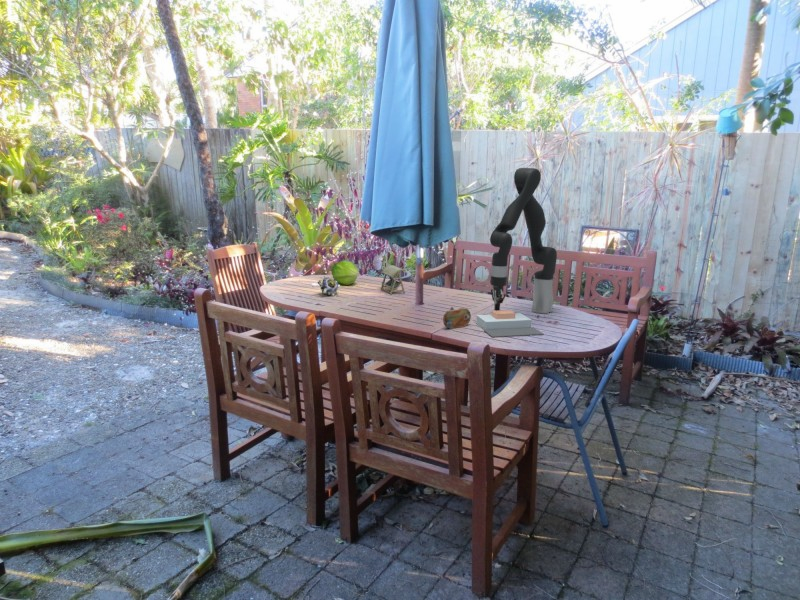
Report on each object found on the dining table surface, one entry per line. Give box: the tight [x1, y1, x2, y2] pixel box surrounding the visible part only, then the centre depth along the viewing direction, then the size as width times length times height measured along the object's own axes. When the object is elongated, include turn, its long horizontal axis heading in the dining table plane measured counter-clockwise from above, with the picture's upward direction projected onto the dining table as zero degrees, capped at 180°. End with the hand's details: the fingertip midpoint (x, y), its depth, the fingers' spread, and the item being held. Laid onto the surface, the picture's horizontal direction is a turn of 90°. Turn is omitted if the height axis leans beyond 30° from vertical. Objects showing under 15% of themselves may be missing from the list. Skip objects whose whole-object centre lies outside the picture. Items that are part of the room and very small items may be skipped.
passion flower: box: [317, 275, 341, 297], centre depth 306 cm, size 13×12×14 cm
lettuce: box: [331, 260, 360, 286], centre depth 334 cm, size 15×23×16 cm
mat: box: [483, 327, 545, 339], centre depth 238 cm, size 24×10×1 cm, turn 102°
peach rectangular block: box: [491, 309, 515, 319], centre depth 248 cm, size 9×6×2 cm, turn 102°
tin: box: [442, 307, 472, 330], centre depth 245 cm, size 15×3×8 cm, turn 126°
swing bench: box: [380, 264, 407, 296], centre depth 315 cm, size 15×10×15 cm, turn 27°
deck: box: [475, 312, 532, 331], centre depth 249 cm, size 22×12×4 cm, turn 102°
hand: (496, 310), depth 256 cm, fingers closed
